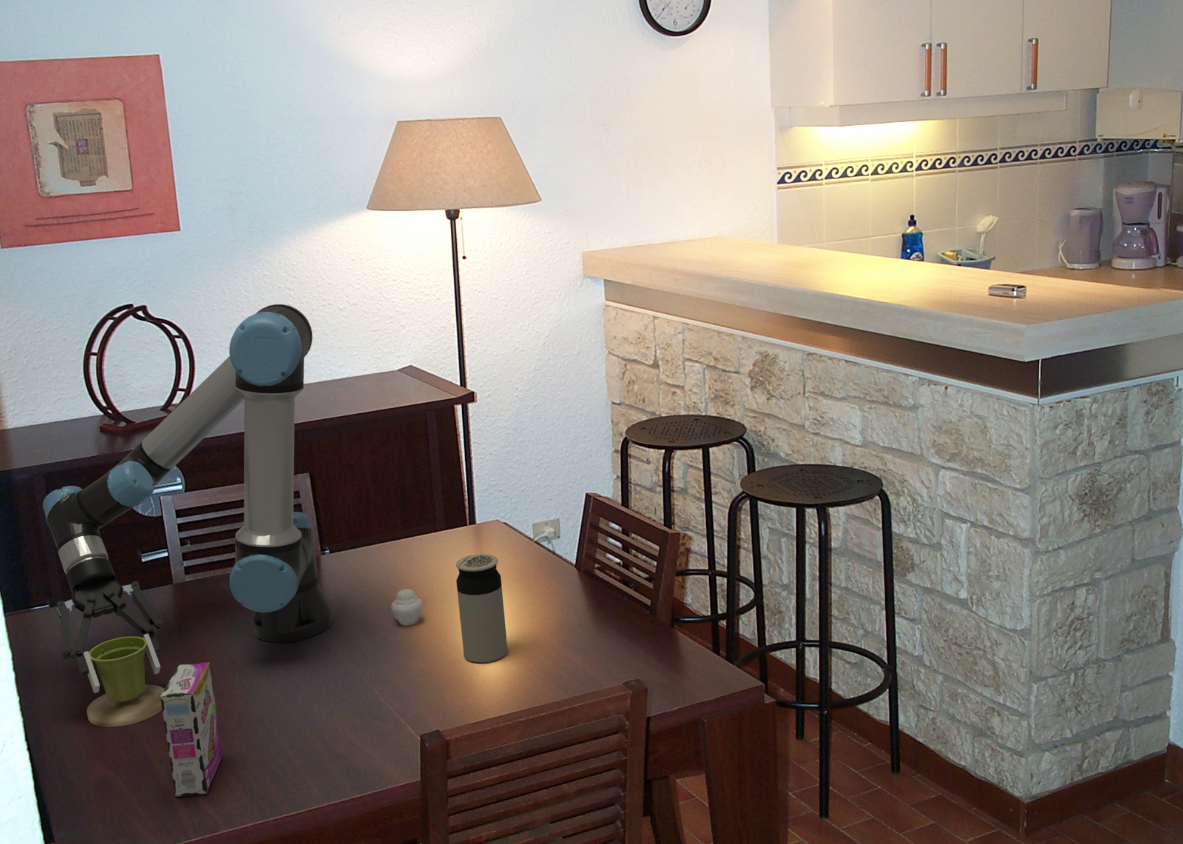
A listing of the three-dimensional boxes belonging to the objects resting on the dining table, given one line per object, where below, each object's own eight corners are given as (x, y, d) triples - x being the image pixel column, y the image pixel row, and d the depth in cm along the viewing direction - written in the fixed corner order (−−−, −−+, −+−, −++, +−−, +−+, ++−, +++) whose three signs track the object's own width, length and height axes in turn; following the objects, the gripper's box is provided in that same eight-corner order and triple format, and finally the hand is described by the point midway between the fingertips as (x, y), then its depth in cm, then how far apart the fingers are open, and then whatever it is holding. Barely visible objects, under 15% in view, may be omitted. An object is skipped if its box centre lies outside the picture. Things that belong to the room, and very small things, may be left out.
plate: (181, 691, 211) (180, 684, 210) (143, 727, 198) (142, 720, 198) (114, 690, 213) (112, 683, 212) (72, 726, 200) (71, 719, 200)
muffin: (386, 627, 232) (382, 593, 230) (403, 614, 237) (399, 582, 236) (414, 630, 229) (410, 596, 228) (430, 617, 235) (426, 584, 233)
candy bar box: (209, 795, 176) (192, 693, 172) (175, 798, 176) (157, 697, 172) (225, 756, 187) (210, 660, 183) (193, 759, 187) (177, 663, 183)
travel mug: (515, 647, 219) (507, 555, 214) (494, 666, 212) (485, 571, 207) (478, 642, 222) (469, 551, 218) (455, 660, 215) (446, 567, 211)
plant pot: (100, 712, 199) (91, 665, 197) (94, 691, 207) (85, 645, 205) (158, 697, 203) (150, 650, 201) (150, 676, 211) (142, 631, 209)
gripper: (148, 561, 219) (189, 668, 210) (20, 594, 207) (58, 710, 198) (152, 541, 214) (194, 650, 205) (21, 574, 201) (59, 691, 193)
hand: (127, 679), depth 201 cm, fingers closed on plant pot, 9 cm apart
